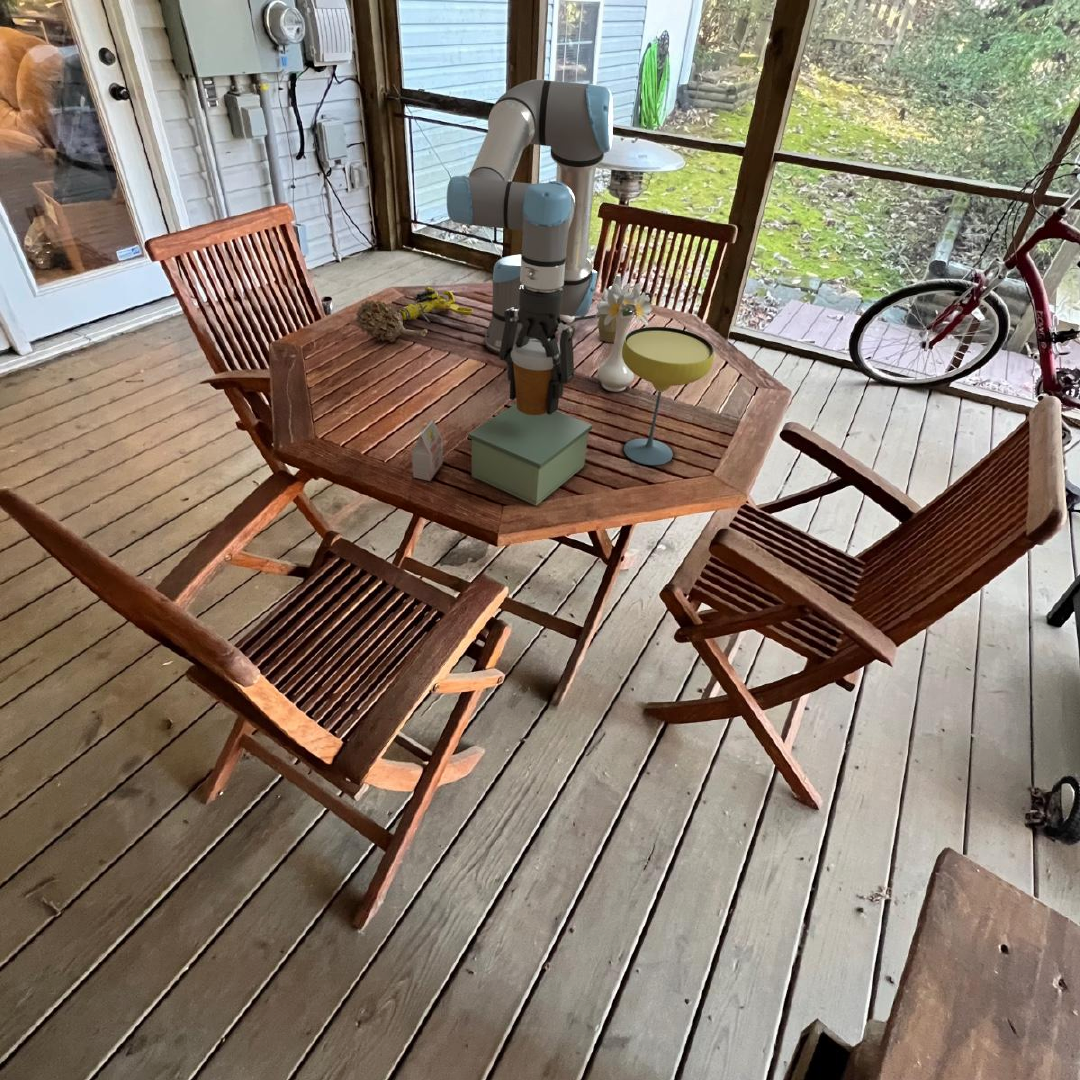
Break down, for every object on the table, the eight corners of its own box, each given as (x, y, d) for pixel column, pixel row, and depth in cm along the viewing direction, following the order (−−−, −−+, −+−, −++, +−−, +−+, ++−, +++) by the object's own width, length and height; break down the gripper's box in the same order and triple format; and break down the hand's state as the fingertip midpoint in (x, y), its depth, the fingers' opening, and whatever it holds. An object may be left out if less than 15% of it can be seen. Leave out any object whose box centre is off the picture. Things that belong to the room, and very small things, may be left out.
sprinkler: (382, 289, 196) (435, 272, 207) (384, 314, 201) (435, 296, 212) (427, 312, 187) (479, 293, 199) (428, 338, 192) (478, 318, 204)
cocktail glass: (688, 481, 143) (716, 370, 127) (603, 468, 145) (619, 356, 129) (689, 437, 157) (714, 332, 141) (611, 426, 159) (627, 321, 143)
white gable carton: (413, 477, 138) (410, 434, 131) (426, 460, 143) (424, 417, 136) (430, 481, 137) (428, 437, 131) (442, 463, 142) (441, 421, 136)
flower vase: (640, 373, 181) (657, 277, 166) (635, 405, 167) (652, 304, 151) (591, 366, 183) (603, 270, 167) (582, 397, 168) (594, 296, 153)
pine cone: (349, 340, 185) (345, 303, 179) (368, 327, 192) (364, 292, 186) (423, 356, 180) (421, 320, 174) (439, 343, 187) (438, 307, 181)
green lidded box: (521, 438, 152) (524, 398, 145) (587, 466, 145) (592, 424, 139) (467, 476, 139) (467, 433, 133) (536, 508, 132) (540, 464, 126)
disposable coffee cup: (552, 423, 128) (557, 363, 121) (503, 415, 129) (505, 355, 122) (561, 400, 136) (567, 342, 128) (514, 392, 137) (517, 335, 129)
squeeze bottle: (628, 338, 199) (638, 275, 187) (615, 347, 193) (625, 282, 182) (604, 330, 202) (612, 268, 190) (590, 339, 196) (598, 275, 185)
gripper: (480, 275, 119) (478, 394, 134) (581, 307, 111) (568, 429, 126) (505, 265, 124) (501, 380, 139) (604, 295, 116) (589, 414, 131)
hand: (533, 404), depth 132 cm, fingers closed on disposable coffee cup, 8 cm apart
